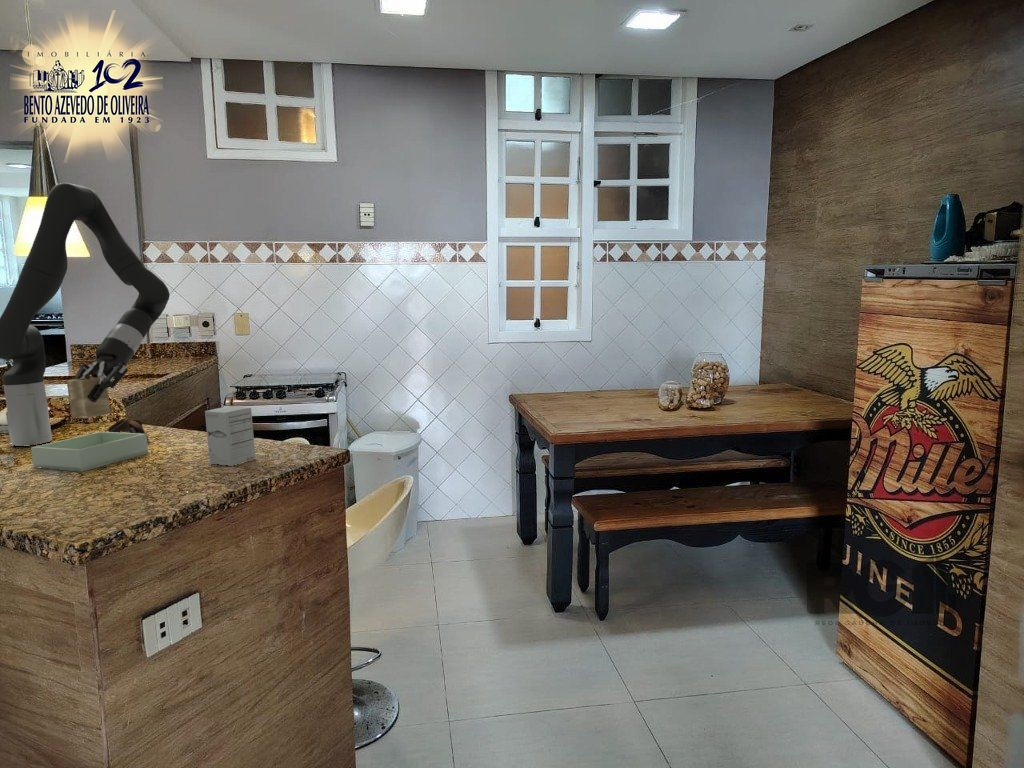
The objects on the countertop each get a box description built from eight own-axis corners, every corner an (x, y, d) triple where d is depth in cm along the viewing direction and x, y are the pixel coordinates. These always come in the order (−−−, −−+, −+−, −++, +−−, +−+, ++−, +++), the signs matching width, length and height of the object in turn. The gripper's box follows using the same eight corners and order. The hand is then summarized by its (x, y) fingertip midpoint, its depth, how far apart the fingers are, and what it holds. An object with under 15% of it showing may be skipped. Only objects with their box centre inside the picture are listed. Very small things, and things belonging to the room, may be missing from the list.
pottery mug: (144, 448, 182) (123, 424, 178) (114, 464, 182) (93, 441, 179) (159, 428, 193) (139, 405, 189) (131, 444, 193) (111, 421, 190)
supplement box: (208, 464, 157) (203, 410, 156) (235, 457, 164) (230, 405, 162) (231, 467, 154) (225, 412, 152) (257, 459, 160) (252, 406, 159)
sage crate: (33, 468, 162) (30, 447, 161) (103, 450, 178) (100, 431, 178) (81, 471, 156) (78, 450, 155) (148, 453, 173) (146, 433, 172)
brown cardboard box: (71, 417, 165) (66, 380, 164) (94, 413, 170) (89, 377, 169) (87, 418, 163) (82, 380, 162) (110, 413, 168) (105, 377, 167)
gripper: (88, 336, 174) (49, 390, 164) (130, 335, 168) (91, 390, 159) (110, 355, 179) (73, 408, 170) (151, 354, 174) (114, 409, 165)
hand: (82, 399), depth 164 cm, fingers closed on brown cardboard box, 5 cm apart
